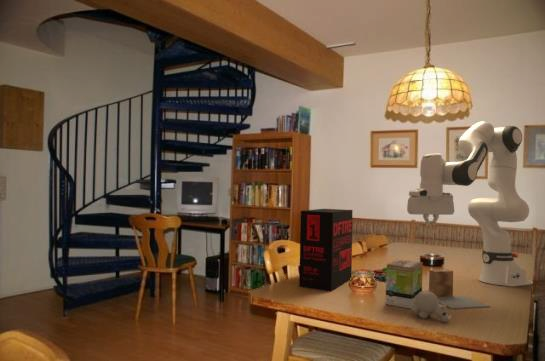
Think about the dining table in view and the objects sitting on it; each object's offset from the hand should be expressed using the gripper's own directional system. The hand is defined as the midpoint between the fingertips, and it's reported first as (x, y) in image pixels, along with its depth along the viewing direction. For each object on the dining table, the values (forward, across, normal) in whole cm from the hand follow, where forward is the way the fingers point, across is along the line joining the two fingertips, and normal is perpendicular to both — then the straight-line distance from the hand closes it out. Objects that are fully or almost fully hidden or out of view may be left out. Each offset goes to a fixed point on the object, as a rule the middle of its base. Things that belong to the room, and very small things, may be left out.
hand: (430, 225), depth 168 cm
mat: (+27, 0, +17) cm, 32 cm away
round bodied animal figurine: (+27, +22, +32) cm, 48 cm away
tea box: (+27, +20, +13) cm, 36 cm away
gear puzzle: (+28, +1, -30) cm, 41 cm away
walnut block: (+27, 0, +7) cm, 28 cm away
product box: (+27, +38, -20) cm, 51 cm away
